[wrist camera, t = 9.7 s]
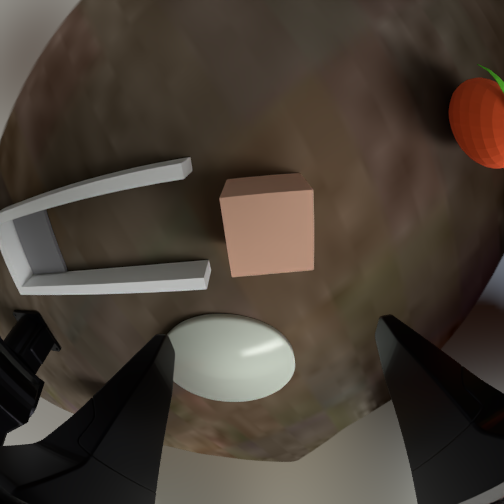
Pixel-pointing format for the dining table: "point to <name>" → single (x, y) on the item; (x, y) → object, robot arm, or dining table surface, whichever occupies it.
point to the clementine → (479, 119)
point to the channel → (96, 280)
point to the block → (268, 224)
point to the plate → (230, 357)
